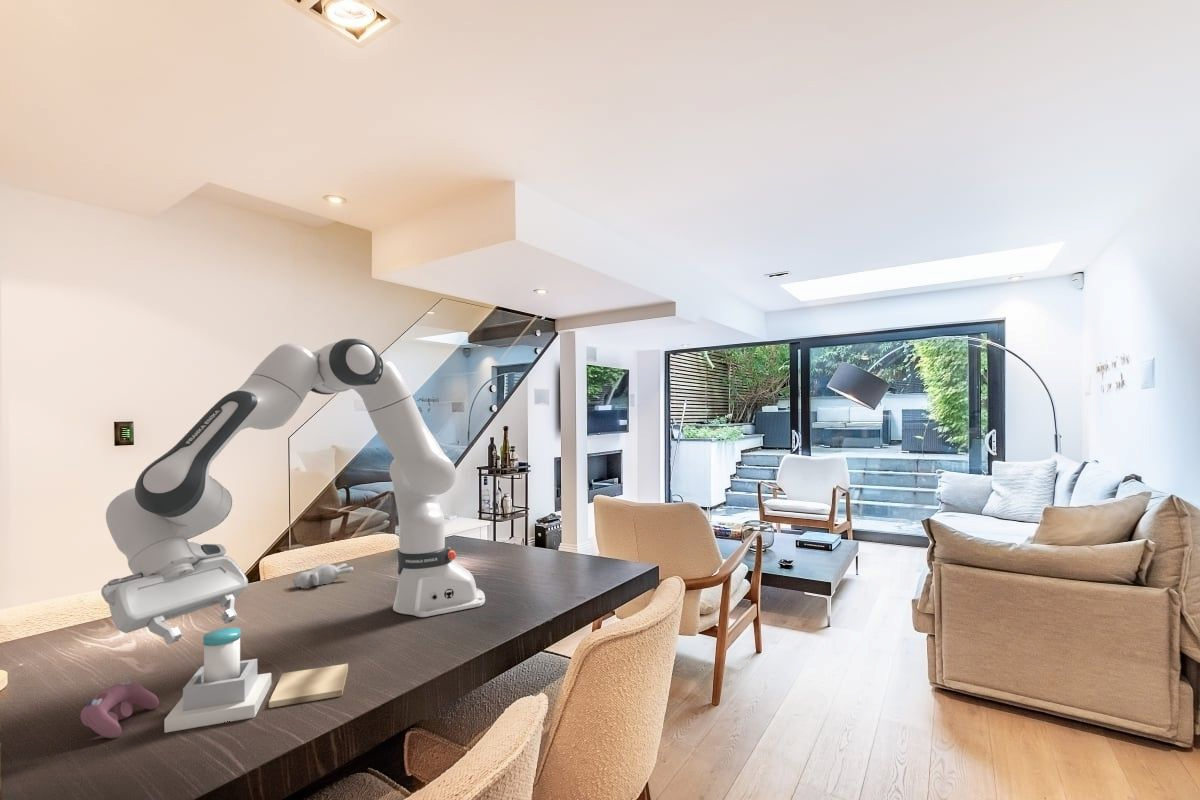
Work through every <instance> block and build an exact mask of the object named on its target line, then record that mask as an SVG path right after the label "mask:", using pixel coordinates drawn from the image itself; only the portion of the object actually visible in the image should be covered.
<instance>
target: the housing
mask: <svg viewBox="0 0 1200 800" xmlns="http://www.w3.org/2000/svg"><path fill="white" fill-rule="evenodd" d="M271 686H272V672H267V673H258V658H252V659H246V660H240V677H239V678H235V679H228V680H221V681H215V682H208V683H204V665H203V666H200V668H198V669H197V671H196V672H195V674H194V675H193V676H192V677H191V678H190V680H189V681H187V683H186V685H185V686H184V687H183V688H182V697H181V698H180V699H179V701H178V702H177V703H176V704H175V706H174V707H173V708H172V709H171V710H170V712H169V713H168V714H167V716H166V717H164V724H163V725H164V726H163V727H164V733H170V732H171V733H172V732H176V731H183V730H187V729H189V730H190V729H194V728H199V727H206V726H212V725H216V724H217V725H218V724H223V723H224V722H225V723H229V721H230V722H234V721H235V722H236V721H242V720H247V719H253V718H256V716H257V713H258V711H259V710H260V707H261V705H262V704H263V702H264V699H265V697H266V695H267V694H268V692H269V690H270V688H271ZM227 721H228V722H227Z"/></svg>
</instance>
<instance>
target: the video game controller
mask: <svg viewBox="0 0 1200 800" xmlns="http://www.w3.org/2000/svg"><path fill="white" fill-rule="evenodd" d="M159 704H160V699H159V698H158V697H157V695H156V694H154V693H153V692H151V691H149V690H147V689H146V688H144V687H143V686H142V685H141V684H140V683H138V682H134V681H132V680H131V679H130V680H127V681H123V682H120V683H115V684H113V685H111V686H109V687H106V688H105V689H103V690H101V691H100V692H99V693H97V694H96V695H95V696H94V697H93V698H92V699H90V701H89V702H88V703H87V705H85V706H84V707H83V708H82V709H81V712H80V714H79V715H80V721H81V722H82V724H83V725H84V726H86V727H88V728H89V729H91V731H94V732H95V733H96V734H98V735H99V736H101V737H104V738H106V739H117V738H118V737H120V735H121V733H122V726H121V725H120V723H119V720H120V721H123V720H126V719H127V718H129V717H130V716H132V714H133V711H134V709H133V705H134V706H137V707H139V708H141V709H144V710H155V709H157V708H158V707H159ZM113 708H114V709H113ZM111 709H113V710H114V712H113V711H110V710H111Z"/></svg>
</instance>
